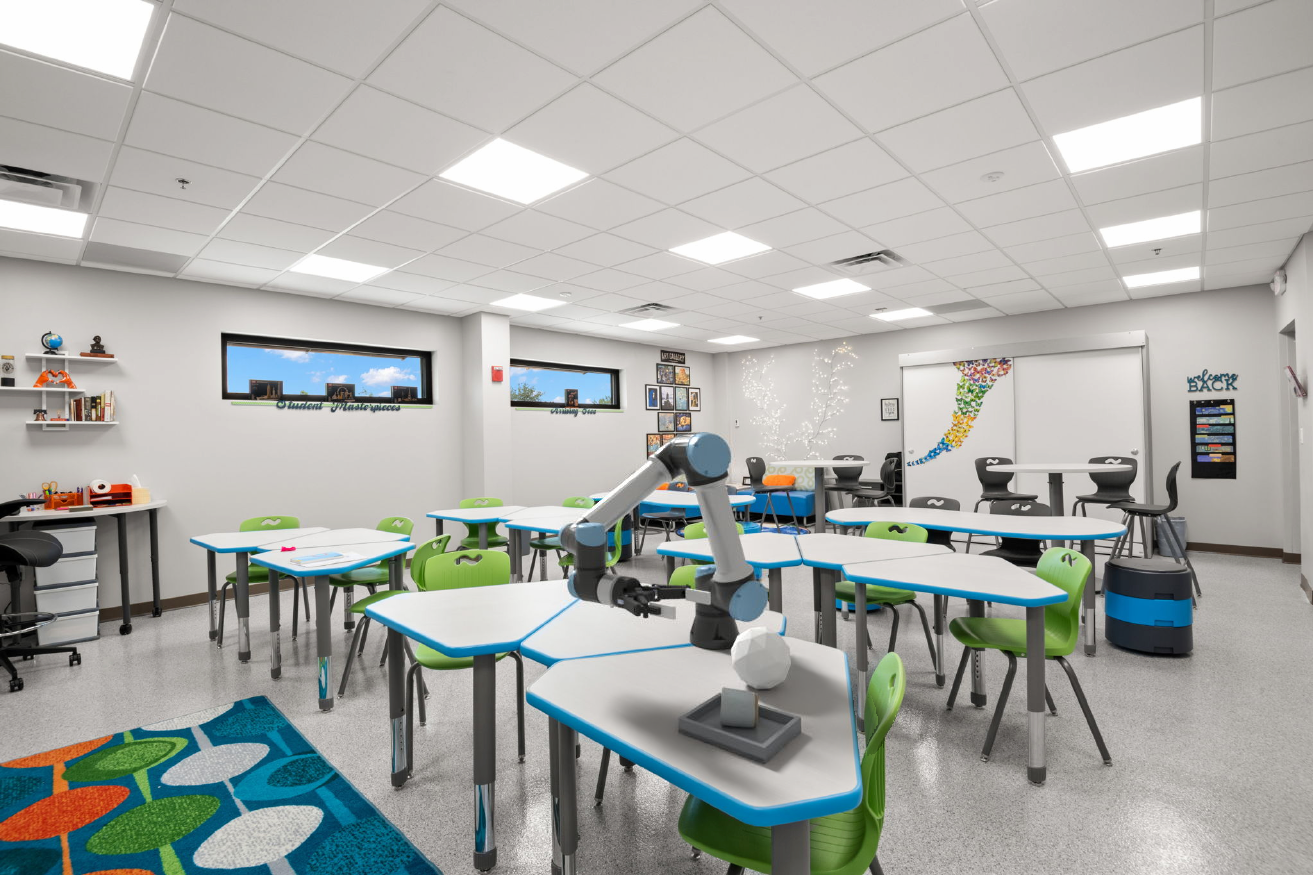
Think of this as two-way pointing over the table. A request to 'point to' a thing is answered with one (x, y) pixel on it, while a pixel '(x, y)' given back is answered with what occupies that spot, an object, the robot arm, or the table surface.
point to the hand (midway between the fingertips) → (693, 605)
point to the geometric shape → (761, 657)
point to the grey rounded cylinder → (739, 708)
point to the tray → (741, 730)
